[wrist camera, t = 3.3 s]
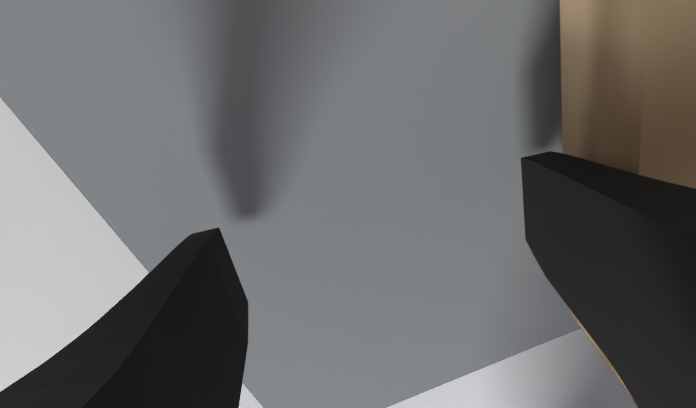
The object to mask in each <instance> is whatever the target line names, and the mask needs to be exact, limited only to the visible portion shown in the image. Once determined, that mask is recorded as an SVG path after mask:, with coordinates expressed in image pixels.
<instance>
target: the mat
mask: <svg viewBox="0 0 696 408" xmlns="http://www.w3.org/2000/svg"><path fill="white" fill-rule="evenodd" d="M0 97H1V99H2V100H3V101H4V102H5V103H6V105H7V106H8V107H9V108H10V109H11V110H12V112H13V113H14V114H15V115H16V116H17V118H18V119H19V120H20V121H21V122H22V123H23V125H24V126H25V127H26V128H27V129H28V130H29V132H30V133H31V134H32V135H33V136H34V138H35V139H36V140H37V141H38V142H39V143H40V145H41V146H42V147H43V148H44V149H45V151H46V152H47V153H48V154H49V155H50V156H51V158H52V159H53V160H54V161H55V162H56V163H57V165H58V166H59V167H60V168H61V169H62V171H63V172H64V173H65V174H66V175H67V176H68V178H69V179H70V180H71V181H72V182H73V183H74V185H75V186H76V187H77V188H78V189H79V191H80V192H81V193H82V194H83V195H84V196H85V198H86V199H87V200H88V201H89V202H90V204H91V205H92V206H93V207H94V208H95V209H96V211H97V212H98V213H99V214H100V215H101V216H102V218H103V219H104V220H105V221H106V222H107V224H108V225H109V226H110V227H111V228H112V229H113V231H114V232H115V233H116V234H117V235H118V236H119V238H120V239H121V240H122V241H123V242H124V244H125V245H126V246H127V247H128V248H129V249H130V251H131V252H132V253H133V254H134V255H135V257H136V258H137V259H138V260H139V261H140V262H141V264H142V265H143V266H144V267H145V268H146V269H147V271H148V272H149V273H150V272H151V271H152V270H153V269H154V268H155V267H156V266H157V265H158V264H159V263H160V262H161V261H162V260H163V259H164V258H165V257H166V256H167V255H168V254H169V253H170V252H171V251H172V250H173V249H174V248H175V247H176V246H177V245H178V244H180V243H181V242H182V241H183V240H184V239H185V238H187V237H188V236H189V235H191V234H193V233H197V232H201V231H206V230H210V229H214V228H220V231H221V233H222V236H223V239H224V241H225V244H226V246H227V249H228V251H229V254H230V257H231V259H232V262H233V264H234V267H235V269H236V272H237V275H238V277H239V280H240V282H241V285H242V287H243V290H244V293H245V295H246V298H247V300H248V347H247V354H246V361H245V368H244V375H243V381H242V383H243V384H244V385H245V386H246V387H247V388H248V390H249V391H250V392H251V393H252V394H253V396H254V397H255V398H256V399H257V400H258V401H259V403H260V404H261V405H262V406H263V407H264V408H386V407H389V406H391V405H393V404H396V403H398V402H401V401H403V400H406V399H408V398H411V397H413V396H415V395H418V394H420V393H423V392H425V391H428V390H430V389H433V388H435V387H437V386H440V385H442V384H445V383H447V382H450V381H452V380H455V379H457V378H459V377H462V376H464V375H467V374H469V373H472V372H474V371H476V370H479V369H481V368H484V367H486V366H489V365H491V364H494V363H496V362H498V361H501V360H503V359H506V358H508V357H511V356H513V355H516V354H518V353H520V352H523V351H525V350H528V349H530V348H533V347H535V346H538V345H540V344H542V343H545V342H547V341H550V340H552V339H555V338H557V337H560V336H562V335H564V334H567V333H569V332H572V331H574V330H577V329H579V328H581V327H580V326H579V324H578V323H577V321H576V320H575V319H574V317H573V316H572V315H571V313H570V312H569V310H568V309H567V308H566V303H565V302H564V301H563V299H562V298H561V297H560V295H559V294H558V293H557V291H556V290H555V289H554V287H553V286H552V285H551V283H550V282H549V280H548V279H547V278H546V276H545V275H544V273H543V271H542V269H541V268H540V266H539V264H538V262H537V261H536V259H535V257H534V255H533V253H532V251H531V249H530V247H529V245H528V243H527V242H526V240H525V224H524V206H523V188H522V171H521V158H522V157H527V156H531V155H535V154H540V153H544V152H548V151H552V152H558V153H563V142H562V92H561V42H560V0H0Z"/></svg>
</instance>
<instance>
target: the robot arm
mask: <svg viewBox="0 0 696 408" xmlns="http://www.w3.org/2000/svg"><path fill="white" fill-rule="evenodd" d="M521 171H522V188H523V206H524V224H525V240H526V242H527V243H528V245H529V247H530V249H531V251H532V253H533V255H534V257H535V259H536V261H537V262H538V264H539V266H540V268H541V269H542V271H543V273H544V275H545V276H546V278H547V279H548V280H549V282H550V283H551V285H552V286H553V287H554V289H555V290H556V291H557V293H558V294H559V295H560V297H561V298H562V299H563V301H564V302H565V303H566V305H567V306H568V307H569V309H570V310H571V311H572V313H573V314H574V315H575V317H576V318H577V319H578V320H579V322H580V323H581V324H582V326H583V327H584V328H585V330H586V331H587V332H588V334H589V335H590V336H591V338H592V339H593V340H594V342H595V343H596V344H597V345H598V347H599V348H600V349H601V351H602V352H603V353H604V355H605V356H606V357H607V359H608V360H609V362H610V363H611V365H612V366H613V368H614V369H615V371H616V372H617V373H618V375H619V376H620V378H621V380H622V381H623V383H624V385H625V386H626V388H627V390H628V391H629V393H630V395H631V396H632V398H633V400H634V401H635V403H636V405H637V406H638V408H696V189H695V188H691V187H686V186H682V185H678V184H674V183H669V182H665V181H661V180H657V179H653V178H649V177H645V176H642V175H638V174H634V173H631V172H627V171H624V170H620V169H617V168H613V167H610V166H606V165H603V164H599V163H596V162H593V161H589V160H586V159H582V158H579V157H575V156H571V155H567V154H563V153H558V152H552V151H548V152H544V153H540V154H535V155H531V156H527V157H522V158H521ZM247 347H248V300H247V298H246V295H245V293H244V290H243V287H242V285H241V282H240V280H239V277H238V275H237V272H236V269H235V267H234V264H233V262H232V259H231V257H230V254H229V251H228V249H227V246H226V244H225V241H224V239H223V236H222V233H221V231H220V228H214V229H210V230H206V231H201V232H197V233H193V234H191V235H189V236H188V237H187V238H185V239H184V240H183V241H182V242H181V243H180V244H178V245H177V246H176V247H175V248H174V249H173V250H172V251H171V252H170V253H169V254H168V255H167V256H166V257H165V258H164V259H163V260H162V261H161V262H160V263H159V264H158V265H157V266H156V267H155V268H154V269H153V270H152V271H151V272H150V273H149V274H148V275H147V276H146V277H145V278H144V279H143V280H142V281H141V282H140V283H139V284H138V285H136V286H135V287H134V288H133V289H132V290H131V291H130V292H129V293H128V294H127V295H126V296H125V297H123V298H122V299H121V300H120V301H119V302H118V303H117V304H116V305H115V306H114V307H112V308H111V309H110V310H109V311H108V312H107V313H106V314H105V315H104V316H102V317H101V318H100V319H99V320H98V321H97V322H96V323H94V324H93V325H92V326H91V327H90V328H89V329H87V330H86V331H85V332H84V333H82V334H81V335H80V336H79V337H77V338H76V339H75V340H74V341H72V342H71V343H70V344H68V345H67V346H66V347H64V348H63V349H62V350H60V351H59V352H58V353H56V354H55V355H54V356H53V357H51V358H50V359H48V360H47V361H46V362H44V363H43V364H41V365H40V366H39V367H37V368H36V369H34V370H33V371H31V372H30V373H28V374H27V375H25V376H24V377H22V378H21V379H19V380H18V381H16V382H15V383H13V384H12V385H10V386H9V387H7V388H6V389H4V390H3V391H1V392H0V408H238V406H239V400H240V394H241V387H242V381H243V375H244V368H245V361H246V354H247Z"/></svg>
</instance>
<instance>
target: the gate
mask: <svg viewBox="0 0 696 408" xmlns="http://www.w3.org/2000/svg"><path fill="white" fill-rule="evenodd" d="M560 42H561V92H562V142H563V154H567V155H571V156H575V157H579V158H582V159H586V160H589V161H593V162H596V163H599V164H603V165H606V166H610V167H613V168H617V169H620V170H624V171H627V172H631V173H634V174H638V175H642V176H645V177H649V178H653V179H657V180H661V181H665V182H669V183H674V184H678V185H682V186H686V187H691V188H695V189H696V0H560ZM566 308H567V309H568V310H569V312H570V313H571V315H572V316H573V317H574V319H575V320H576V321H577V323H578V324H579V326H580V327H581V328H582V330H583V331H584V333H585V334H586V335H587V337H588V338H589V339H590V341H591V342H592V344H593V345H594V346H595V348H596V349H597V351H598V352H599V353H600V355H601V356H602V358H603V359H604V360H605V362H606V363H607V364H608V366H609V367H610V369H611V370H612V371H613V373H614V374H615V376H616V377H617V378H618V380H619V381H620V382H621V384H622V385H623V387H624V388H625V389H626V391H627V392H628V394H629V395H630V393H629V391H628V390H627V388H626V386H625V385H624V383H623V381H622V380H621V378H620V376H619V375H618V373H617V372H616V371H615V369H614V368H613V366H612V365H611V363H610V362H609V360H608V359H607V357H606V356H605V355H604V353H603V352H602V351H601V349H600V348H599V347H598V345H597V344H596V343H595V342H594V340H593V339H592V338H591V336H590V335H589V334H588V332H587V331H586V330H585V328H584V327H583V326H582V324H581V323H580V322H579V320H578V319H577V318H576V317H575V315H574V314H573V313H572V311H571V310H570V309H569V307H568V306H567V305H566ZM630 396H631V395H630ZM631 398H632V396H631ZM632 399H633V398H632ZM634 402H635V401H634Z"/></svg>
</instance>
